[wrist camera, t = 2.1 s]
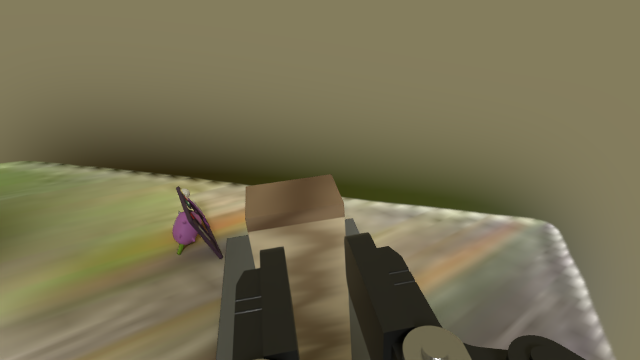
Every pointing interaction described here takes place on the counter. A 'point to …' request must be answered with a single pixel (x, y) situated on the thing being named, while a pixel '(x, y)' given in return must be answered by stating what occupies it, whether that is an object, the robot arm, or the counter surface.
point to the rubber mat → (235, 264)
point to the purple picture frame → (192, 225)
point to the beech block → (307, 257)
